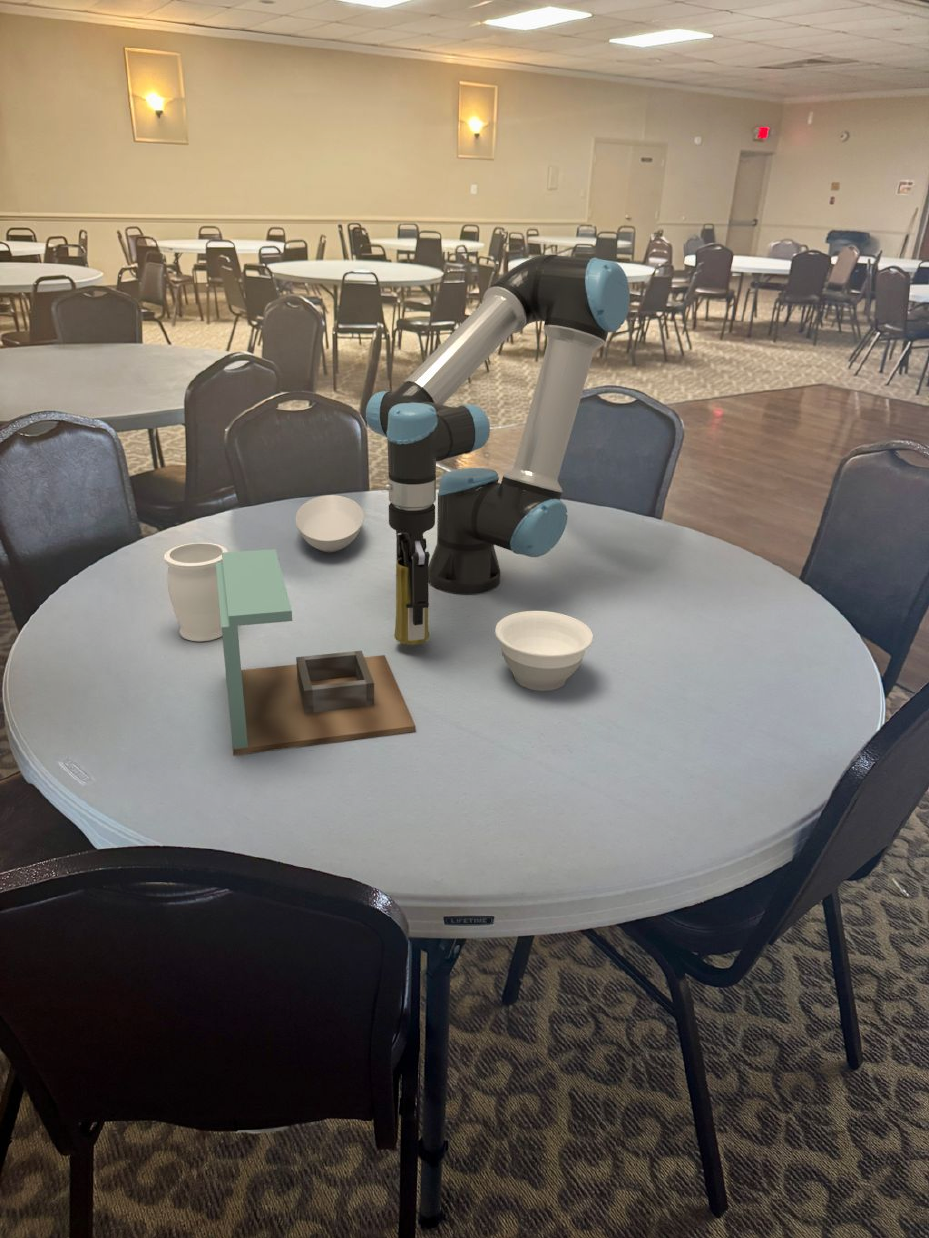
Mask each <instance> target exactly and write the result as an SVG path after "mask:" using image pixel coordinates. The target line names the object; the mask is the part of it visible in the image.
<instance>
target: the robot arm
mask: <svg viewBox="0 0 929 1238" xmlns="http://www.w3.org/2000/svg"><path fill="white" fill-rule="evenodd" d="M630 291H631V290H630V285H629V280H628V277H627V275H626V272H625V271H624V269H623V268H622V267H621V265H620V264H618V263H617V262H615V261H612V260H606V259H600V258H598V257H579V256H567V255H559V254H551V253H550V254H542V255H538V256H534V257H532V258H529V259H526V260H525V261H524V262H521V263H520V264H517V265H516V266H514V267H513V268H512V269H510V270H508V271H507V272H506V273H504V274H503V275H502V276H501V277H499V278H498V279H497V280H496V281H495V282H494V283H493V284H492V285H491V286H489V287H488V289H486V291H485V292H484V293H483V297H482V303H480V305H479V306H477V308H476V309H475V310H474V311H472V313H471V314H470V315H469V316H468V317H467V318H466V319H465V320H464V321H463V322H462V323H461V324H460V325H459V326H458V327H457V328H455V330H454V331H453V332H452V333H451V334H450V335H449V336H448V337H447V338H445V340H444V341H443V342H441V344H440V345H439V346H438V347H437V348H436V349H435V350H434V351H433V352H432V353H431V354H430V355H428V357H427V358H426V359H425V360H424V361H423V362H422V364H420V365H419V367H418V368H416V369H415V370H414V372H413V373H411V374H410V376H408V377H407V378H406V379H405V381H403V382H402V384H400V385H399V387H398V388H397V389H395V391H394V392H393V391H390V390H387V391H384V390H383V391H379V392H376V393H374V394H373V395H372V396H371V397H370V399H369V400H368V402H367V405H366V408H365V420H366V424H367V426H368V428H370V430H371V431H372V432H374V433H375V434H376V435H380V436H382V437H385V438H387V465H388V468H387V469H388V473H387V475H388V482H389V483H388V484H385V486H384V487H385V489H384V490H385V491H388V501H389V502H390V503H389V504H388V525H389V527H390V528H391V529H392V530H394V531H395V534H396V557H395V558H396V559H395V561H396V562H397V560H398V559H399V558H402V562H403V563H404V565H405V566H407V567H408V583H409V597H410V604H406V608H408V640H409V641H412V640H421V639H425V608H428V609H429V606H430V602H429V601H430V600H429V599H430V597H429V589H430V588H429V587H430V586H429V585H431V586H433V587H434V588H435V589H439V590H441V591H443V592H446V593H450V594H457V595H458V594H459V595H474V594H483V593H487V592H490V591H492V590H495V589H496V588H497V587H498V586H499V585H500V583H501V573H502V572H501V568H500V564H499V563H500V562H499V560H498V556H497V553H496V549H495V546H497V547H500V548H502V549H505V550H508V551H510V552H512V553H513V554H516V555H523V556H527V557H530V558H539V557H543V556H544V555H546V554H548V553H549V552H550V551H551V550H552V549H554V547H556V545H557V544H558V543H559V541H560V540H561V538H562V536H563V534H564V532H565V529H566V527H567V523H568V509H567V506H566V504H565V503H564V502H563V501H562V500H561V498H562V495H563V489H562V487H561V485H560V484H559V479H558V478H559V476H560V473H561V470H562V469H561V468H562V465H563V461H564V458H565V455H566V451H567V447H568V444H569V441H570V437H571V433H572V431H573V426H574V423H575V420H576V416H577V413H578V410H579V406H580V403H581V399H582V395H583V391H584V388H585V384H586V381H587V379H588V378H587V377H588V373H589V371H590V367H591V364H592V360H593V356H594V353H595V352H596V351H597V350H599V349H600V348H602V347H603V346H605V344H606V341H607V337H608V334H609V333H614V332H617V331H618V330H620V329H621V327H622V326H623V325H624V323H625V322H626V319H627V316H628V313H629V310H630V309H629V308H630V302H631V301H630V300H631V299H630V298H631V296H630V295H631V294H630V293H631V292H630ZM536 322H544V324H543V327H542V328H543V331H544V332H545V334H546V337H547V340H548V341H547V344H546V348H545V351H544V355H543V359H542V363H541V366H540V368H539V369H540V370H539V373H538V377H537V380H536V385H535V387H534V390H533V391H534V392H533V394H532V395H533V396H532V400H531V403H530V406H529V411H528V414H527V417H526V420H525V424H524V429H523V432H522V435H521V440H520V442H519V447H518V450H517V454H516V458H515V462H514V464H513V468H511V470H509V471H507V472H505V473H503V475H502V478H501V482H499V479H500V476H499V473H498V471H496V470H494V469H491V468H485V467H483V468H481V467H467V468H460V469H454V470H451V471H447V472H445V473H444V474H443V475H442V476H440V478H439V483H438V492H437V490H436V489H437V472H436V471H437V462H440V461H444V460H448V459H450V458H454V457H458V456H463V455H468V454H470V453H472V452H474V451H477V450H478V449H482V448H483V447H484V446H486V443H487V442H488V440H489V438H490V431H491V429H490V428H491V423H490V421H489V418H488V416H487V414H486V412H485V411H484V410H483V409H482V408H480V407H479V406H477V405H474V404H468V405H465V404H462V405H458V407H456V406H455V407H454V406H448V405H445V403H446V402H447V401H448V400H449V399H450V398H451V397H452V396H453V395H454V394H455V392H456V391H458V390H459V389H460V388H461V386H463V384H464V383H465V382H466V381H467V380H468V379H469V378H470V377H472V375H473V374H474V373H475V372H476V371H477V370H478V369H479V368H480V367H481V366H482V365H483V363H484V362H486V360H487V359H488V358H489V357H490V356H491V355H492V354H493V353H495V351H497V349H498V348H499V346H501V345H502V344H503V342H504V341H506V339H508V338H509V337H510V335H512V334H518V333H520V332H522V331H523V330H524V328H526V326H528V325H530V324H532V323H536ZM436 499H437V500H436ZM436 501H437V521H436V505H435V504H434V503H435V502H436ZM436 522H437V523H436ZM435 524H437V527H436V529H437V530H436V531H437V532H436V533H437V535H436V536H437V537H436V539H437V540H436V545H435V548H434V550H433V552H432V555H431V554H430V552H429V551H426V550H427V547H428V546H427V539H426V538H425V537H424V534H425V533H426V532H428V531H431V530H432V529H434V527H435ZM430 555H431V558H430Z"/></svg>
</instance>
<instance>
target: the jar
mask: <svg viewBox="0 0 929 1238" xmlns="http://www.w3.org/2000/svg"><path fill="white" fill-rule="evenodd" d="M225 552H229V551H228V549H227V548H226V547H224V546H222V545H220V544H217V543H210V542H192V543H191V542H190V543H186V544H181V545H178V546H174V547H172V548H170V549H169V550H167V551H166V552H165V553H164V555H163V556H164V557H163V558H164V562H165V564H166V565H167V566H168V568H167V574H166V575H167V579H166V580H167V581H166V583H167V590H168V596H169V599H170V602H171V605H172V608H173V613H174V615H175V618H176V620H177V621H178V623H179V624H180V628H179V635H180V636H181V637H182V638H183V639H185V640H187V641H191V642H209V641H213V640H216V639H218V638H219V639H220V638H222V628H221V617H220V606H219V595H218V584H217V573H216V562H222V553H225Z"/></svg>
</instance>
